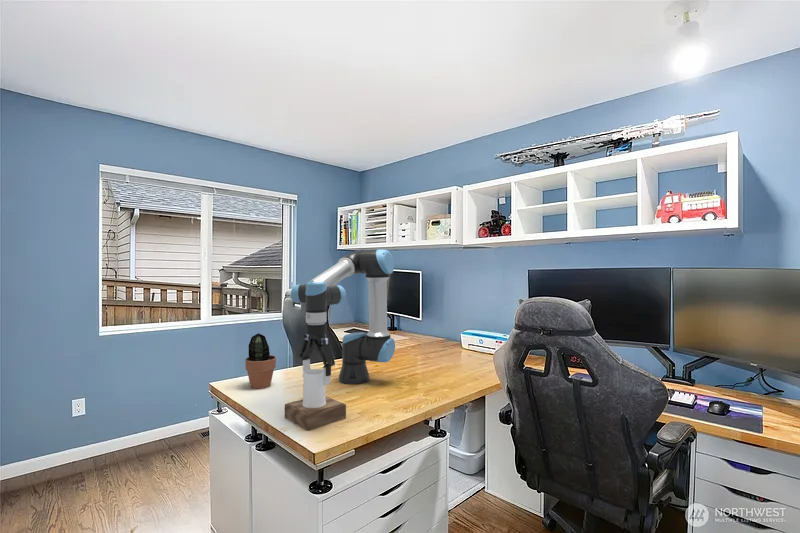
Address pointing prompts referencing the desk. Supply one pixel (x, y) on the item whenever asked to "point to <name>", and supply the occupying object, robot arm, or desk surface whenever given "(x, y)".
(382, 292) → the robot arm
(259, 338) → the potted plant
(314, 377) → the mug
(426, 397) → the desk surface
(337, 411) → the tray
